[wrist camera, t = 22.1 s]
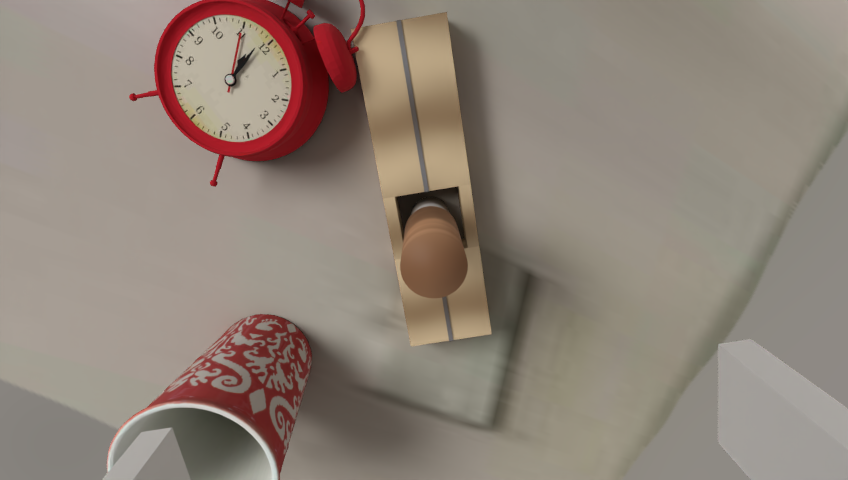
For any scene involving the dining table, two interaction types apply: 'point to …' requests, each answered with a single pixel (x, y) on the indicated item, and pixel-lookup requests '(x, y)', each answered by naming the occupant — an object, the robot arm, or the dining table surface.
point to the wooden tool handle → (432, 251)
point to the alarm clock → (249, 76)
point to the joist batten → (422, 157)
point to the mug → (232, 403)
